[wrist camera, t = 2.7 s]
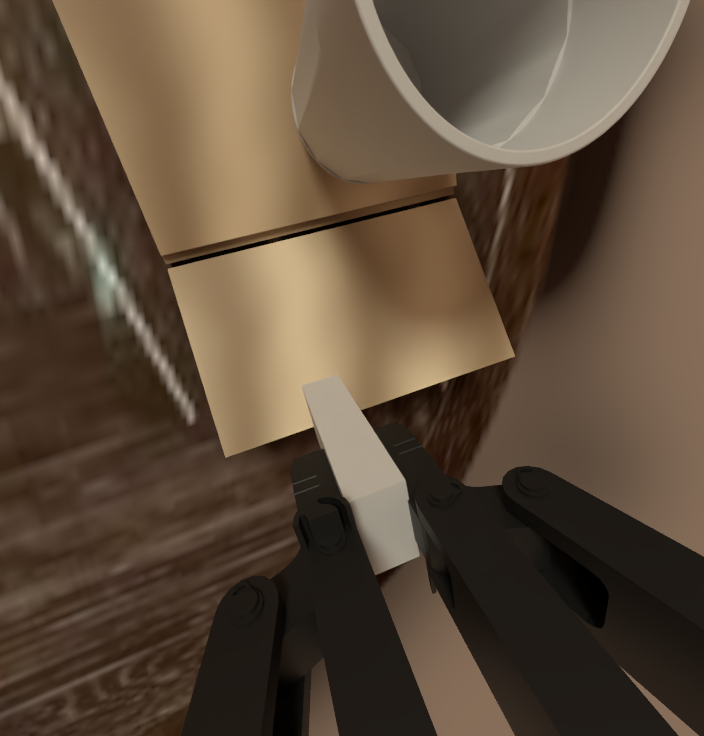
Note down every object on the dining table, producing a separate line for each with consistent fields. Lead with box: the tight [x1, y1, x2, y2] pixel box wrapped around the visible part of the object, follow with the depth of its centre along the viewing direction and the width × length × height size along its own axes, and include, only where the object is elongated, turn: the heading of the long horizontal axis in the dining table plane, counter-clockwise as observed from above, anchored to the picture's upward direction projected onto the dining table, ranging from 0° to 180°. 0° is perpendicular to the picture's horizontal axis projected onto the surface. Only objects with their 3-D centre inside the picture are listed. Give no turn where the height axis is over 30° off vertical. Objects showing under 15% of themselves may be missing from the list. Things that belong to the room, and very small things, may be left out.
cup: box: [291, 0, 690, 184], centre depth 12 cm, size 8×8×12 cm
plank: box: [168, 198, 515, 458], centre depth 18 cm, size 15×9×1 cm, turn 102°
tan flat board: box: [52, 0, 456, 264], centre depth 16 cm, size 15×9×1 cm, turn 102°
